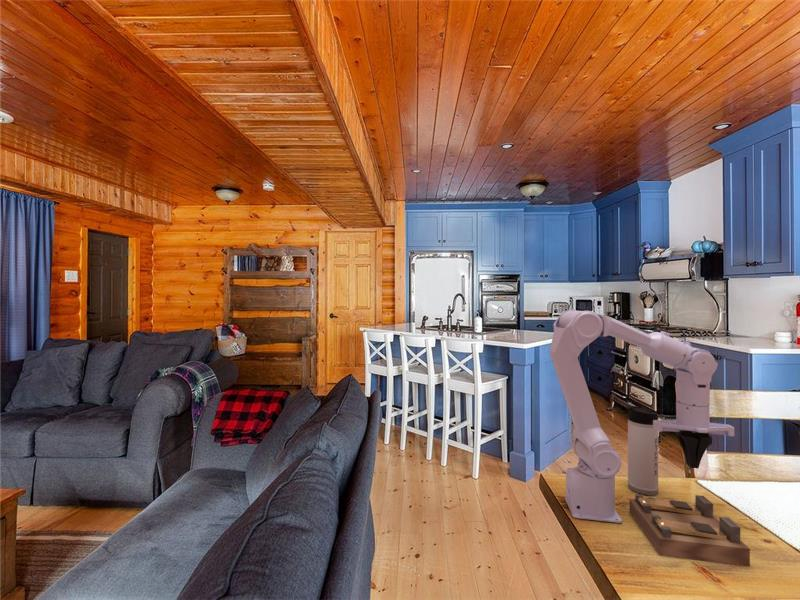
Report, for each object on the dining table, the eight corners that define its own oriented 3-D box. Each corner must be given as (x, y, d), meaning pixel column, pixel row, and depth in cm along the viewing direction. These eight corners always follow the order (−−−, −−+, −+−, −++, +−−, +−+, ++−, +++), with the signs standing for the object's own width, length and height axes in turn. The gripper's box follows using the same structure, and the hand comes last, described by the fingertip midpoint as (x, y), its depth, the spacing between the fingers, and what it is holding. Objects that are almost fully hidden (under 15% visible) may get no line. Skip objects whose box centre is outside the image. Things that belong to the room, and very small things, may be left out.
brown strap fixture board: (659, 555, 69) (659, 522, 69) (629, 512, 82) (629, 486, 82) (749, 566, 66) (749, 532, 66) (703, 520, 80) (703, 492, 80)
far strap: (642, 507, 78) (643, 501, 78) (637, 501, 81) (637, 494, 81) (700, 517, 76) (701, 510, 76) (693, 509, 78) (694, 503, 78)
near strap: (660, 530, 70) (661, 523, 70) (654, 522, 73) (654, 515, 73) (726, 541, 68) (727, 534, 68) (717, 533, 71) (718, 525, 71)
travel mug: (622, 481, 96) (622, 403, 97) (651, 484, 95) (651, 404, 95) (632, 494, 90) (632, 410, 90) (663, 497, 89) (663, 411, 89)
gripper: (663, 406, 79) (663, 471, 79) (744, 410, 76) (744, 478, 76) (648, 397, 86) (648, 457, 86) (722, 401, 83) (722, 463, 83)
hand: (692, 466), depth 82 cm, fingers closed
